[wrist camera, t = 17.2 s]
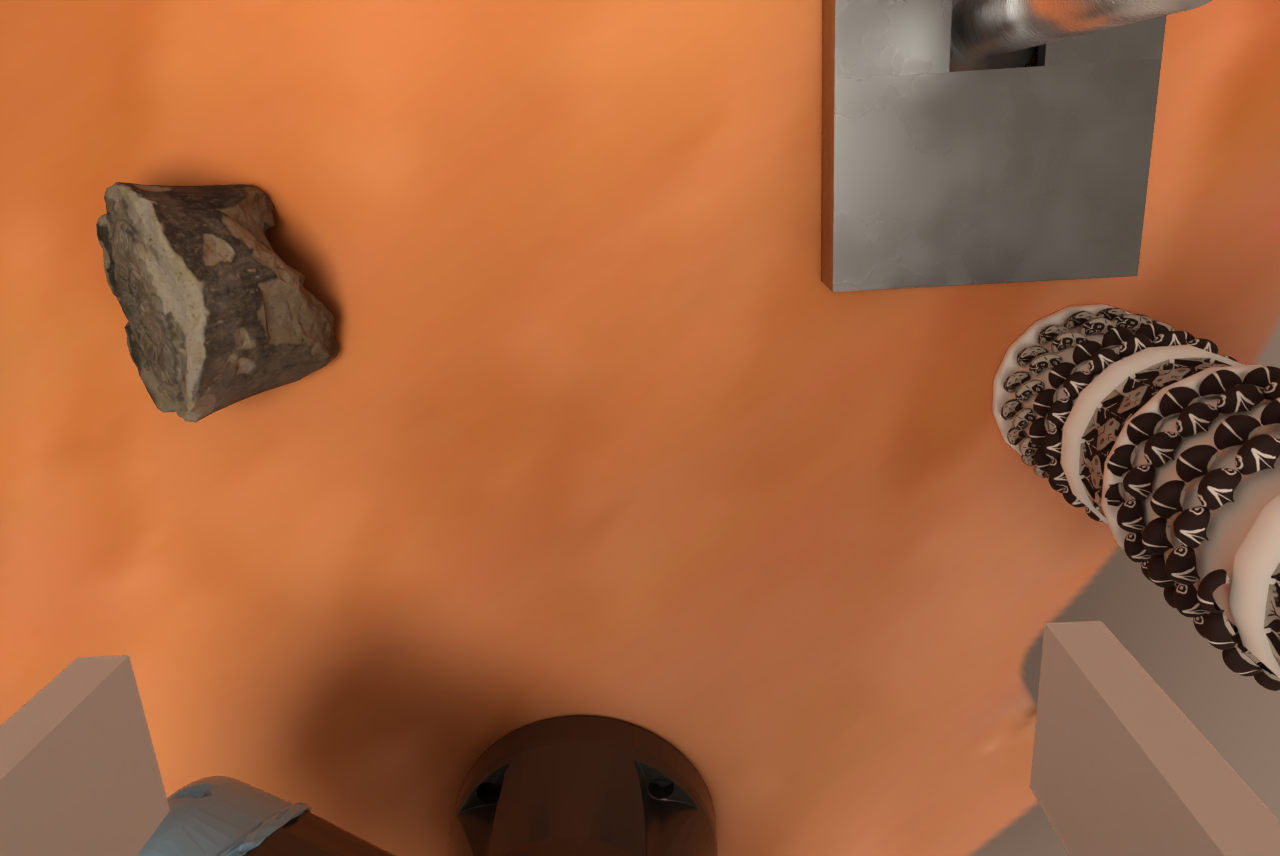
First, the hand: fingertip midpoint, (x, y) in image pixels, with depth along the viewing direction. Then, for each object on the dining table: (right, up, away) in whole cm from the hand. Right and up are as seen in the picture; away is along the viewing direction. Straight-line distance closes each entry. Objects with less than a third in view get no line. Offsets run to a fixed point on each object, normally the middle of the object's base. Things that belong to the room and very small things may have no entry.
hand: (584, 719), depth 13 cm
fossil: (-19, +11, +31) cm, 38 cm away
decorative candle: (+22, +6, +31) cm, 39 cm away
